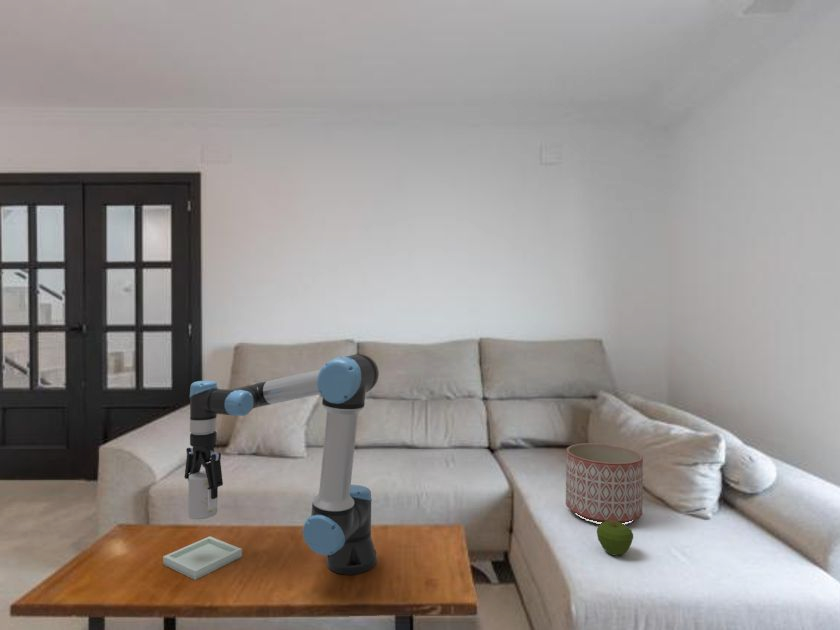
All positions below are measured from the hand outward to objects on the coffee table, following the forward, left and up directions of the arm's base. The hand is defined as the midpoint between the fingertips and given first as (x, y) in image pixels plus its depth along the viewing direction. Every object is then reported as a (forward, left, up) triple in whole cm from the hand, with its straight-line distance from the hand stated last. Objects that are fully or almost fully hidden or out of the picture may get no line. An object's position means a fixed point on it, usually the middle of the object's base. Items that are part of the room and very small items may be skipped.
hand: (203, 505), depth 155 cm
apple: (-106, -74, -17) cm, 130 cm away
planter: (-96, -104, -17) cm, 143 cm away
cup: (0, 0, -3) cm, 3 cm away
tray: (0, 0, -17) cm, 17 cm away
